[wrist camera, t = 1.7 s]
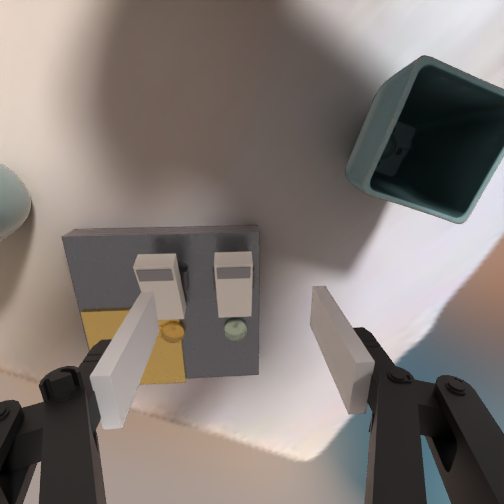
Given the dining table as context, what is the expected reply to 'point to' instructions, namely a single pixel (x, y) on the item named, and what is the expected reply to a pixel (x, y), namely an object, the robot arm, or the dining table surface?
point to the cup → (12, 202)
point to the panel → (194, 287)
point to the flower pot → (430, 140)
